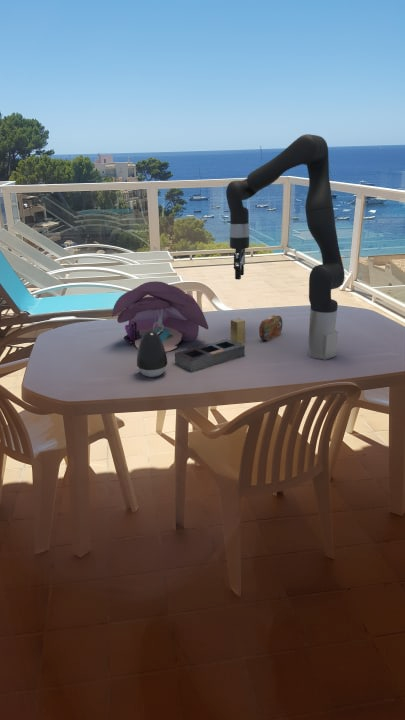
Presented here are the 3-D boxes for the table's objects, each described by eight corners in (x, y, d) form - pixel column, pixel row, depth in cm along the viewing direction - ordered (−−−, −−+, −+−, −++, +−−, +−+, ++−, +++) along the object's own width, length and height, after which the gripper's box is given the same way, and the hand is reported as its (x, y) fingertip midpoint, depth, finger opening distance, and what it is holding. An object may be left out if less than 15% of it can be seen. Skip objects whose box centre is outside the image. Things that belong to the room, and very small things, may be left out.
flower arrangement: (121, 368, 185) (108, 301, 170) (115, 337, 205) (102, 274, 189) (211, 350, 191) (206, 284, 175) (197, 322, 210) (191, 259, 194)
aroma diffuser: (174, 373, 167) (172, 330, 162) (151, 382, 160) (149, 338, 155) (154, 365, 174) (151, 324, 168) (131, 374, 167) (128, 332, 161)
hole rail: (227, 348, 189) (227, 338, 187) (244, 355, 181) (244, 345, 180) (175, 363, 175) (174, 352, 174) (191, 372, 168) (191, 360, 166)
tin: (264, 343, 194) (264, 322, 191) (257, 341, 195) (257, 321, 192) (282, 333, 205) (283, 313, 202) (276, 332, 207) (276, 312, 203)
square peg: (244, 342, 195) (245, 320, 192) (237, 344, 193) (237, 322, 189) (238, 339, 198) (238, 318, 195) (230, 342, 196) (230, 320, 192)
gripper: (246, 237, 184) (246, 281, 189) (251, 233, 197) (251, 273, 202) (226, 237, 185) (227, 280, 191) (232, 233, 198) (232, 273, 204)
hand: (239, 277), depth 197 cm, fingers open, 8 cm apart
